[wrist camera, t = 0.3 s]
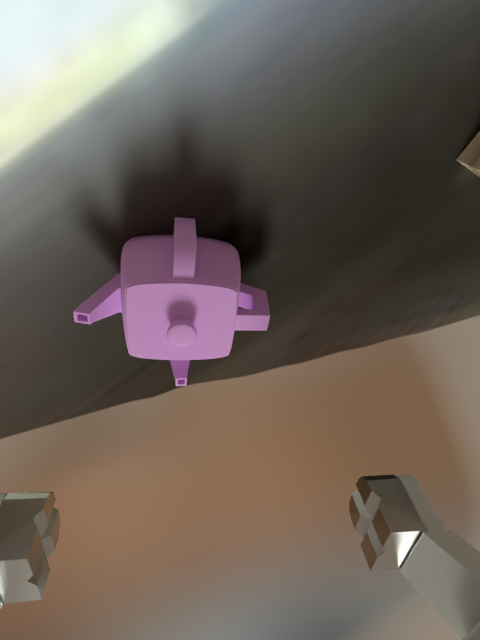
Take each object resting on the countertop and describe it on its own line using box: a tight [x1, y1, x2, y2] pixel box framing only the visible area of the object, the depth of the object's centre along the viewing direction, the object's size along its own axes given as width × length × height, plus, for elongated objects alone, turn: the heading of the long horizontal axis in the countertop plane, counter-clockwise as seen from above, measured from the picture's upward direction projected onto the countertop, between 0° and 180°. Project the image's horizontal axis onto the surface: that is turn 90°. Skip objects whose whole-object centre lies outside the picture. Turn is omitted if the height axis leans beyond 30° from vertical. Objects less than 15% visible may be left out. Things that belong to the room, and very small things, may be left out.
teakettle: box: [73, 217, 270, 386], centre depth 46 cm, size 17×17×12 cm
